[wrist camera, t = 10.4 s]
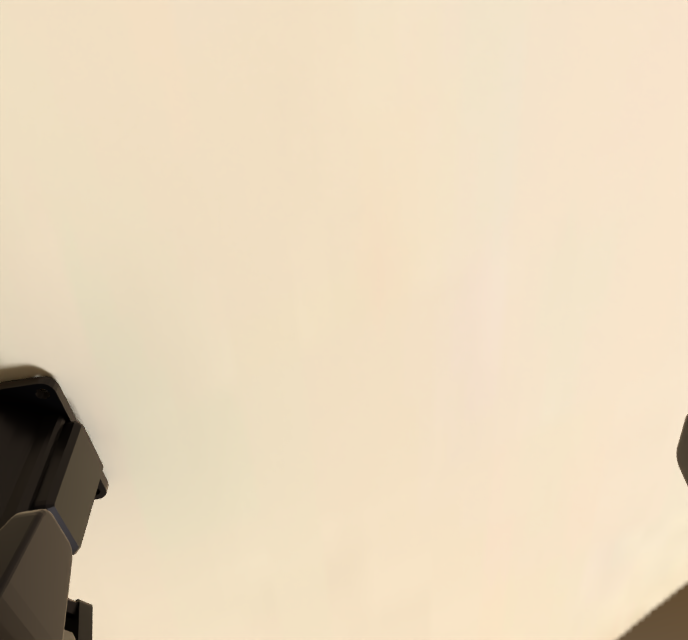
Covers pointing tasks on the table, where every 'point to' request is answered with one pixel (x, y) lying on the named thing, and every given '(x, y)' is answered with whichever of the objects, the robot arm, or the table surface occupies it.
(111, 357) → the table surface
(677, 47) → the table surface
